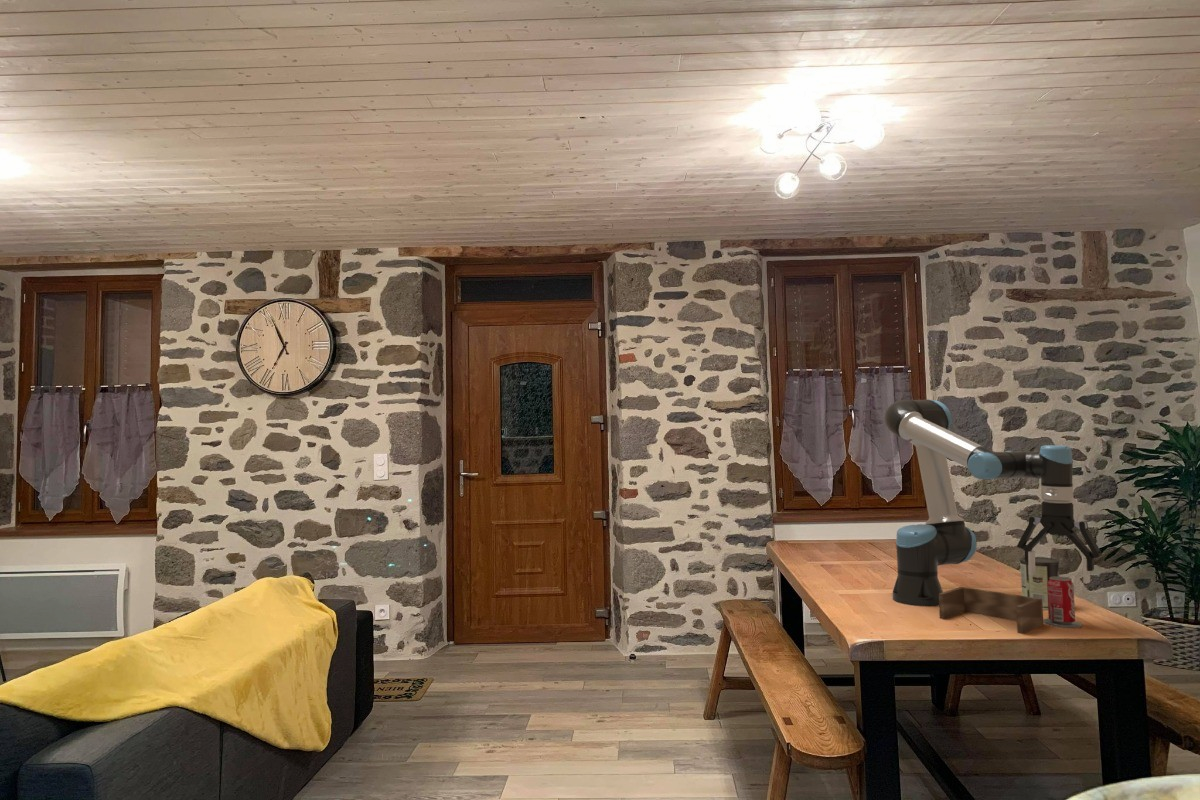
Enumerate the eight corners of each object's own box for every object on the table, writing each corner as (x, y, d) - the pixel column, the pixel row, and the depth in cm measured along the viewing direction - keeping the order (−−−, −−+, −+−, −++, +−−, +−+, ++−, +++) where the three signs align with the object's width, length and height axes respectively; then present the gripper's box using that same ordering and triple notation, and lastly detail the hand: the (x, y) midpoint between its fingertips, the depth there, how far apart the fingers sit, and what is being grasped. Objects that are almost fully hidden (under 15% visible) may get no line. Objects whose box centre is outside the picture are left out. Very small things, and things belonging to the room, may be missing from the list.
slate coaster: (1037, 624, 204) (1037, 622, 204) (1050, 618, 209) (1050, 616, 209) (1074, 630, 197) (1074, 628, 197) (1087, 624, 202) (1086, 622, 202)
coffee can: (1053, 603, 228) (1051, 556, 228) (1067, 611, 217) (1064, 562, 218) (1016, 602, 230) (1014, 556, 230) (1028, 610, 220) (1026, 562, 220)
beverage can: (1071, 620, 205) (1070, 576, 205) (1078, 625, 199) (1076, 580, 200) (1046, 618, 207) (1044, 575, 207) (1051, 624, 201) (1049, 579, 202)
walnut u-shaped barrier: (939, 619, 211) (938, 593, 211) (962, 611, 219) (961, 586, 220) (1022, 634, 194) (1021, 607, 194) (1043, 625, 202) (1042, 598, 203)
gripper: (1003, 498, 212) (1005, 573, 211) (1104, 506, 192) (1106, 588, 192) (1014, 496, 216) (1016, 569, 216) (1114, 504, 197) (1116, 584, 197)
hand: (1058, 578), depth 204 cm, fingers open, 13 cm apart
